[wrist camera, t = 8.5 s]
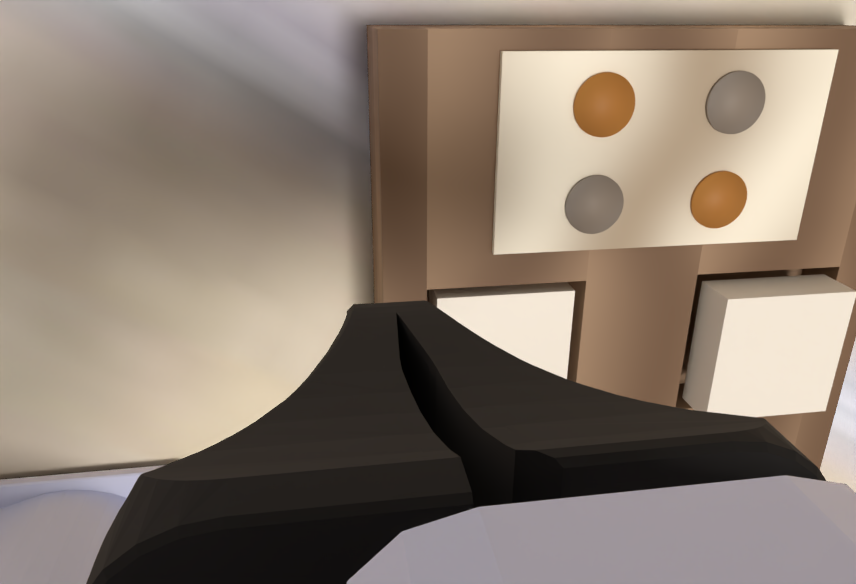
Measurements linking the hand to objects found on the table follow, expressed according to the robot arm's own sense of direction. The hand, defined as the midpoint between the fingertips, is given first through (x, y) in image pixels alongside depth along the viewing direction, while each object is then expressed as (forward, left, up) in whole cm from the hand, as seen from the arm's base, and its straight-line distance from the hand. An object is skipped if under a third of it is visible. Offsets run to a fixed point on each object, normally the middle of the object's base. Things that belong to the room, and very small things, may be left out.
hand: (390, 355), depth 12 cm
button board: (+8, -7, -10) cm, 15 cm away
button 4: (+12, -4, -7) cm, 15 cm away
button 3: (+4, -4, -8) cm, 10 cm away
